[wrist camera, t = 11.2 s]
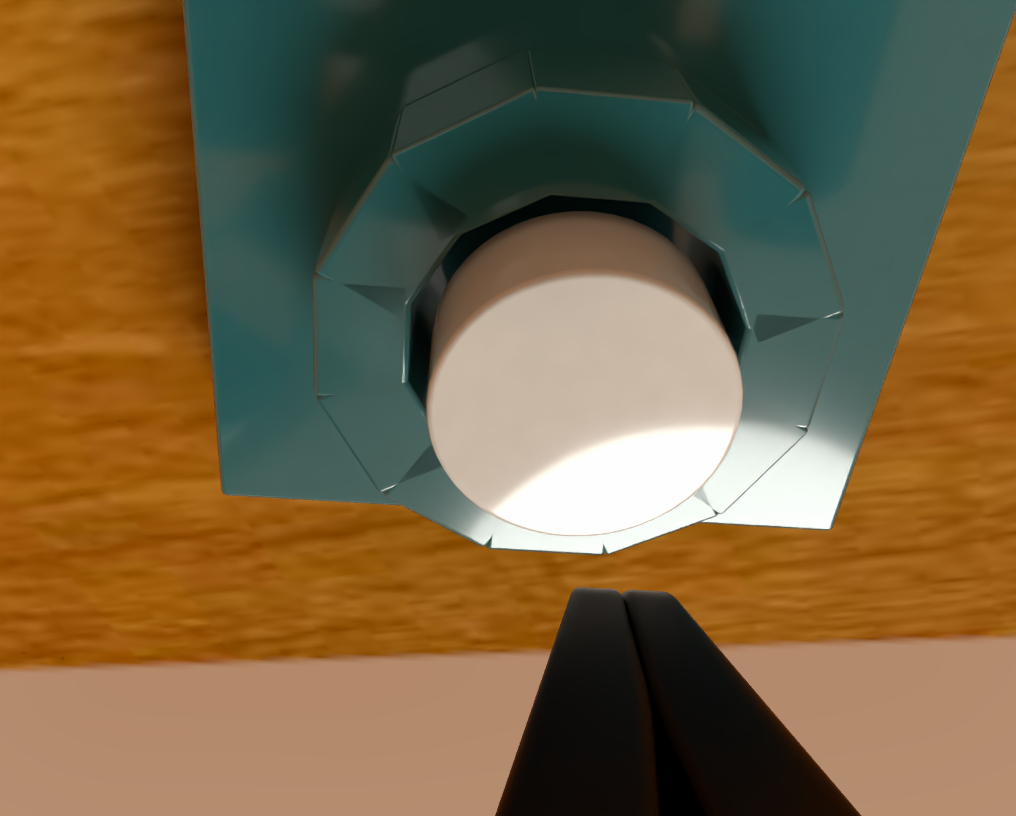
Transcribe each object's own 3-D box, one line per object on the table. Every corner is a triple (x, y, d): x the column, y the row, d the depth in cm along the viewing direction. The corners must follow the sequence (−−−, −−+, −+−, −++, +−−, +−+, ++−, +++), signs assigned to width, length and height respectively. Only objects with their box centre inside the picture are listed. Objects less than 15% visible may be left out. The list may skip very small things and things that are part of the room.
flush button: (683, 464, 14) (708, 547, 12) (425, 448, 13) (418, 530, 12) (741, 221, 12) (780, 285, 10) (440, 196, 11) (434, 257, 10)
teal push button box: (796, 455, 18) (869, 610, 15) (247, 420, 17) (191, 575, 14) (1053, -365, 12) (1288, -424, 8) (195, -476, 11) (67, -591, 7)
